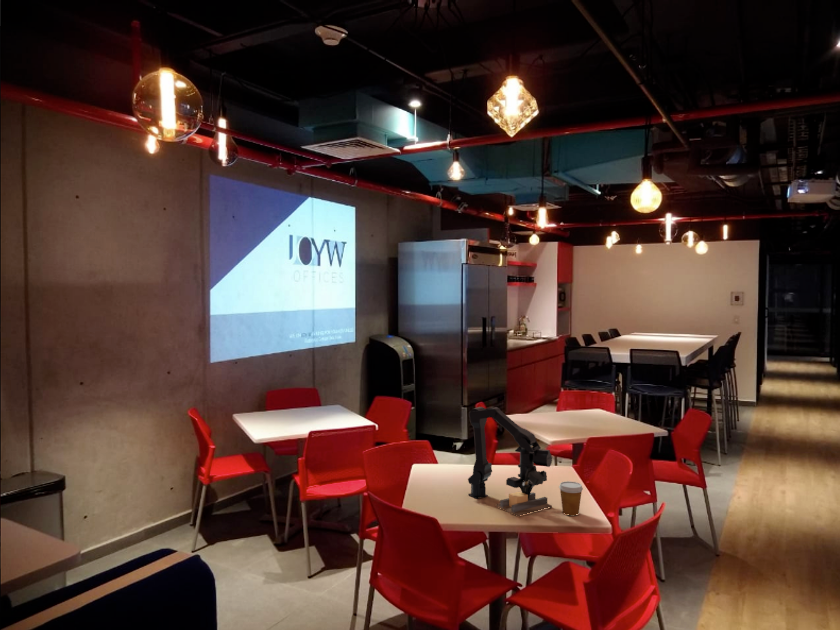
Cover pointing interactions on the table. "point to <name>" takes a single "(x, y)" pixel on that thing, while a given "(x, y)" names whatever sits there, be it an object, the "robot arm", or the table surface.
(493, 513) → the table surface
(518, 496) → the block
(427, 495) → the table surface
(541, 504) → the chute
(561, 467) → the table surface
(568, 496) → the disposable coffee cup
